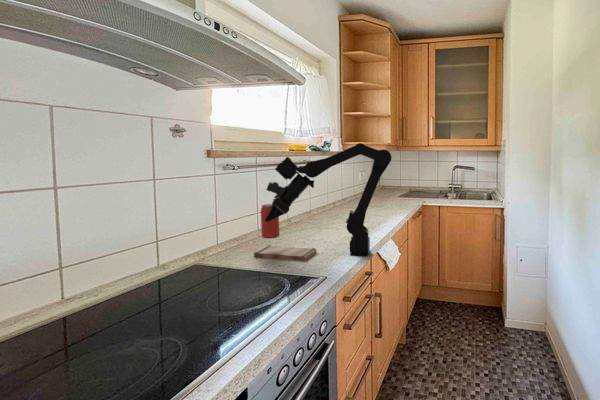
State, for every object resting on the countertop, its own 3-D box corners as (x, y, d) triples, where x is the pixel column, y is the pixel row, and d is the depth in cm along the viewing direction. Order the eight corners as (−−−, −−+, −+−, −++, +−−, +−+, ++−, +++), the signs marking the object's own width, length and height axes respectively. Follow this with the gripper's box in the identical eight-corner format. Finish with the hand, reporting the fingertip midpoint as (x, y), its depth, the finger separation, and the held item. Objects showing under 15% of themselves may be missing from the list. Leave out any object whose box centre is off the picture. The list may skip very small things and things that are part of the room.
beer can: (282, 235, 158) (281, 204, 156) (273, 239, 152) (271, 206, 151) (268, 234, 161) (267, 203, 160) (258, 238, 155) (256, 205, 154)
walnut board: (316, 252, 157) (316, 248, 157) (305, 260, 146) (305, 255, 146) (268, 249, 164) (267, 244, 164) (253, 256, 153) (253, 252, 153)
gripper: (279, 172, 163) (252, 201, 164) (278, 175, 145) (247, 208, 146) (300, 191, 164) (273, 220, 165) (301, 197, 146) (271, 229, 147)
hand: (266, 219), depth 156 cm, fingers closed on beer can, 7 cm apart
